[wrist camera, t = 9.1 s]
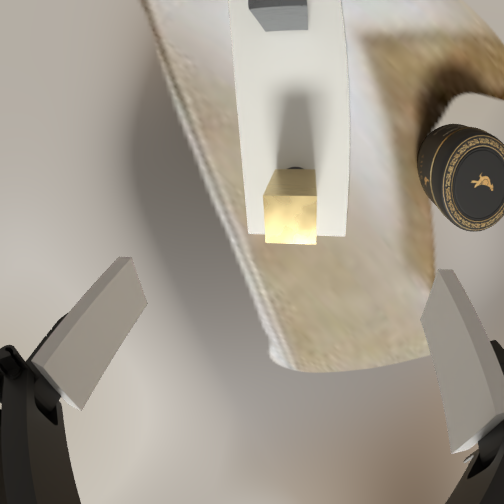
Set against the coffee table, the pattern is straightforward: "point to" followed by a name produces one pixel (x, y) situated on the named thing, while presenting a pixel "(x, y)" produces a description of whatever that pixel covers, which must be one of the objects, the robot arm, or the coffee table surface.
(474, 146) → the jar
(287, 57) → the board
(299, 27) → the fixed leg
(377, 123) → the coffee table surface
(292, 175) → the block
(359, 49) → the coffee table surface
